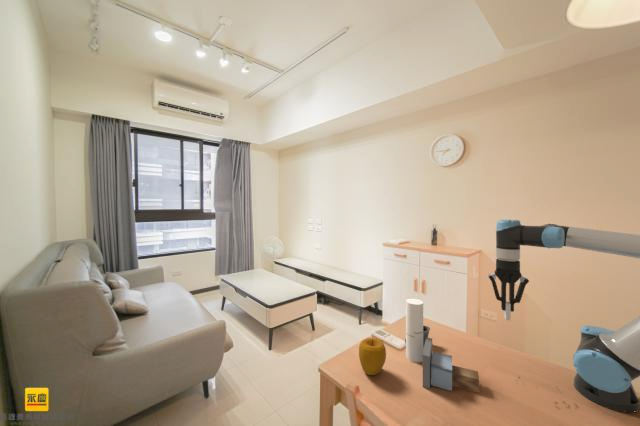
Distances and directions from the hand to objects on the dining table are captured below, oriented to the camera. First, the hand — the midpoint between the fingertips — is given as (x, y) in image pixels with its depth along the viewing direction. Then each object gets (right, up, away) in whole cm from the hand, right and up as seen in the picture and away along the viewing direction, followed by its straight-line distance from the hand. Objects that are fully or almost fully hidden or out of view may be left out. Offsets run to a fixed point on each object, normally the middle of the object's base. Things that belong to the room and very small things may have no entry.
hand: (507, 318), depth 99 cm
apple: (-53, -23, +3) cm, 57 cm away
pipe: (-26, -23, +23) cm, 41 cm away
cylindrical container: (-32, -23, +13) cm, 41 cm away
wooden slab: (-22, -23, -3) cm, 32 cm away
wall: (-31, -23, 0) cm, 39 cm away
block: (-27, -23, -2) cm, 35 cm away
